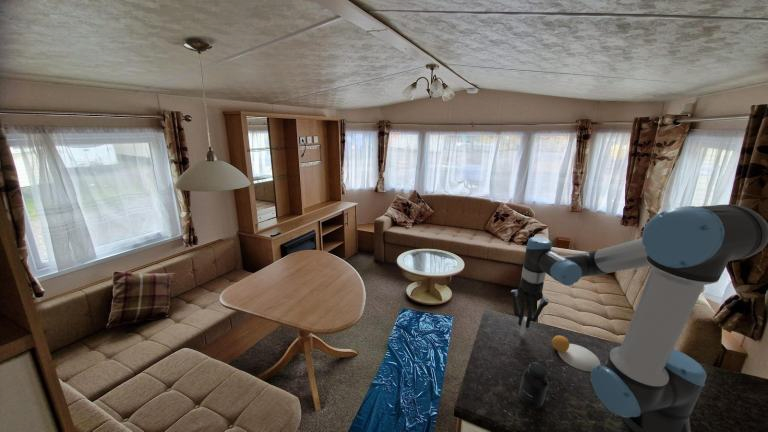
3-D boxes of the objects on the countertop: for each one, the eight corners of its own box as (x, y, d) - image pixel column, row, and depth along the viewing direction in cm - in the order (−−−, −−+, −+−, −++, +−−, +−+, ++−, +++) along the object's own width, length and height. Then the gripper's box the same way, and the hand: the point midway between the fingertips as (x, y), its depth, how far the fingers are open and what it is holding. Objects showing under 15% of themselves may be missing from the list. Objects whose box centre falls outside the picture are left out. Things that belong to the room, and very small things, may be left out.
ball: (572, 350, 109) (558, 338, 110) (561, 357, 112) (547, 346, 113) (573, 340, 113) (559, 329, 114) (562, 347, 116) (549, 337, 117)
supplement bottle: (519, 406, 92) (526, 374, 88) (517, 387, 98) (523, 356, 94) (545, 412, 90) (553, 380, 86) (541, 393, 96) (548, 362, 92)
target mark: (601, 377, 102) (601, 377, 102) (556, 361, 109) (556, 360, 109) (599, 352, 113) (599, 352, 113) (559, 339, 119) (559, 339, 119)
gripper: (553, 279, 112) (542, 333, 119) (515, 269, 118) (506, 321, 126) (551, 288, 106) (539, 345, 113) (511, 278, 112) (502, 332, 120)
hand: (522, 332), depth 119 cm, fingers closed
